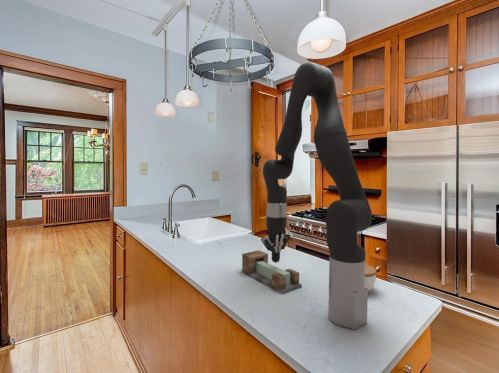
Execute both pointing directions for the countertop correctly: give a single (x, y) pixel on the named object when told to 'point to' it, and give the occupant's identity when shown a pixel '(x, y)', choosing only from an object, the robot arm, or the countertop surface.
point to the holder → (277, 279)
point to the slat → (270, 270)
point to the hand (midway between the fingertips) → (275, 261)
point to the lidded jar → (370, 276)
